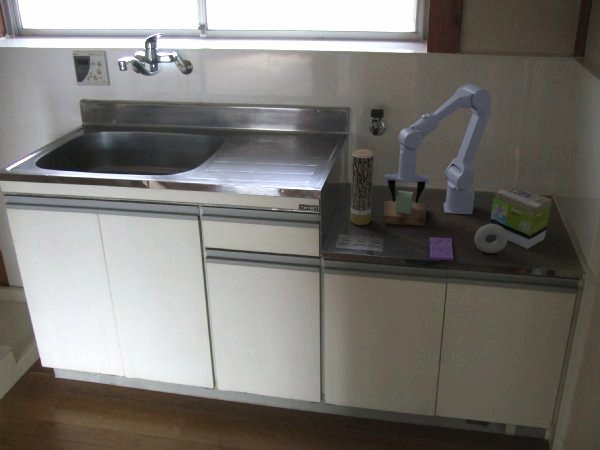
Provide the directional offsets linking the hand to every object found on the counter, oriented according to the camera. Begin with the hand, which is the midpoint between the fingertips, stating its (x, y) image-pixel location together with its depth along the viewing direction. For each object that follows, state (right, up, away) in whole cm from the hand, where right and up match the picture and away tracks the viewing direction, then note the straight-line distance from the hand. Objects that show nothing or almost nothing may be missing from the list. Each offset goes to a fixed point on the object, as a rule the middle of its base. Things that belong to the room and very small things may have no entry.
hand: (405, 201), depth 219 cm
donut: (+23, -17, -20) cm, 35 cm away
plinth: (0, -5, +3) cm, 6 cm away
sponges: (+8, -17, -18) cm, 26 cm away
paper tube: (-15, -7, 0) cm, 17 cm away
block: (0, -3, 0) cm, 3 cm away
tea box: (+34, -12, -11) cm, 38 cm away
